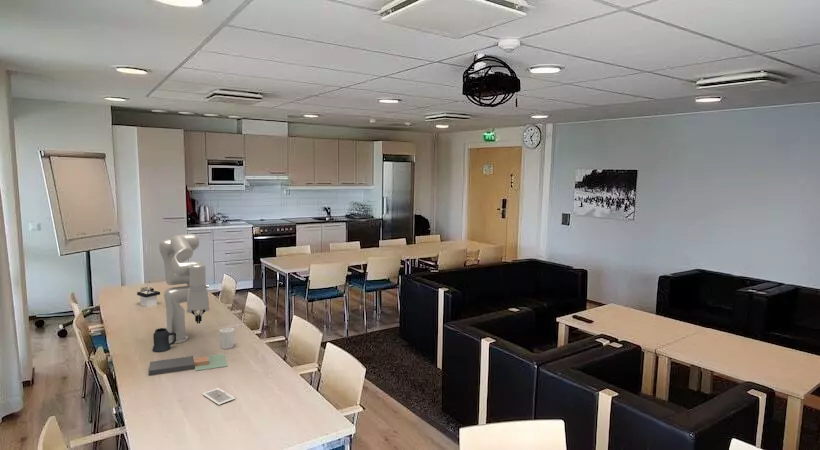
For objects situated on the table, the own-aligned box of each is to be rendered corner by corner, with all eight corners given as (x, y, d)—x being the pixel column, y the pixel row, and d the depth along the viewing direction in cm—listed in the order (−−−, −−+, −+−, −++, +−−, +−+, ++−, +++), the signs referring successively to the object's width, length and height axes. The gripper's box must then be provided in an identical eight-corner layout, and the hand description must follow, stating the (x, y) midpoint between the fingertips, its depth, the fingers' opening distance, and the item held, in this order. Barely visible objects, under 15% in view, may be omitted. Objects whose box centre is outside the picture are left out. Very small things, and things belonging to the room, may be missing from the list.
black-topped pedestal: (176, 304, 353) (176, 287, 352) (141, 313, 331) (140, 294, 329) (155, 299, 368) (154, 282, 366) (120, 306, 346) (119, 288, 344)
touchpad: (218, 407, 203) (218, 402, 202) (201, 395, 212) (201, 391, 212) (235, 400, 209) (235, 395, 208) (218, 390, 218) (218, 385, 218)
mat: (194, 358, 253) (194, 357, 253) (224, 354, 260) (224, 353, 260) (195, 371, 237) (195, 370, 237) (227, 366, 244) (227, 365, 243)
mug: (152, 353, 258) (151, 333, 257) (152, 347, 266) (151, 328, 265) (177, 349, 264) (176, 330, 263) (175, 344, 272) (175, 325, 271)
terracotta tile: (193, 361, 248) (193, 357, 248) (208, 359, 251) (208, 355, 251) (194, 366, 242) (194, 362, 241) (209, 364, 245) (209, 360, 244)
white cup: (219, 349, 266) (218, 332, 265) (220, 345, 273) (220, 328, 272) (234, 348, 268) (233, 331, 267) (235, 344, 275) (235, 327, 274)
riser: (150, 366, 241) (150, 361, 241) (193, 360, 250) (193, 355, 250) (148, 375, 231) (148, 370, 230) (194, 369, 239) (194, 364, 239)
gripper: (213, 285, 250) (213, 319, 252) (181, 287, 243) (182, 322, 245) (214, 288, 243) (214, 323, 245) (181, 291, 237) (182, 326, 239)
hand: (198, 322), depth 245 cm, fingers closed
